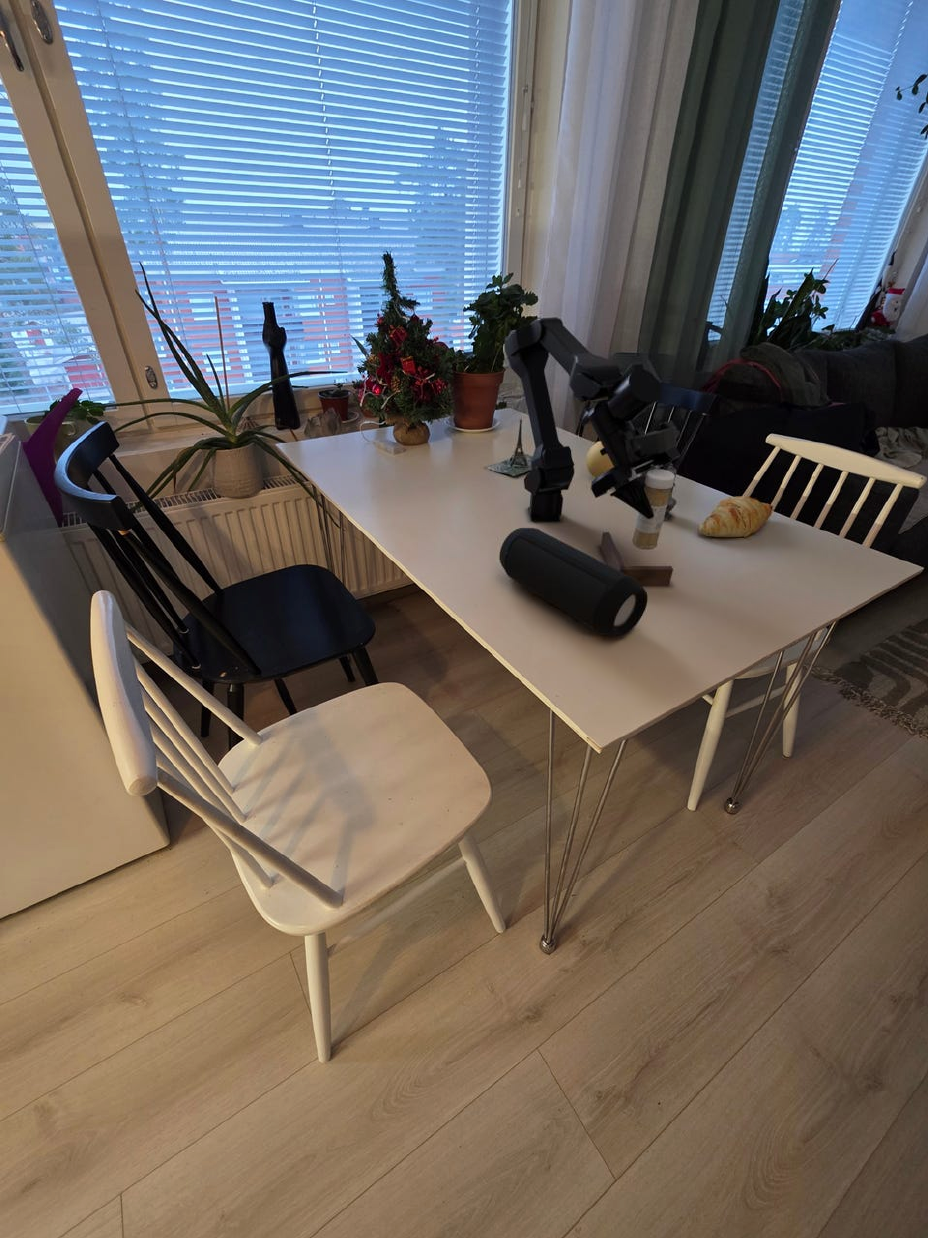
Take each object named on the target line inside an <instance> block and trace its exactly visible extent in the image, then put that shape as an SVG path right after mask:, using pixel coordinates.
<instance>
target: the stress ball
mask: <svg viewBox="0 0 928 1238" xmlns="http://www.w3.org/2000/svg"><path fill="white" fill-rule="evenodd" d="M603 448H604V447H603V445H602V443H601V441H600V440H599V441H596V442H595V443H593V444H592V446H591V447H590V448H589V450H588V452H587V454H586V459H585V464H586V468H587V470H588V472H589V474H590V475H591V476H592V477H594V478H595V479H596V478H598V477H599V476H601V475H602V474H603V473H605V472H606V471H608V470H609V469H611V468H613V467H614V466H613V464H612V462H611V460H610V458H609V457H608V455H607V454H606V455H603V456H602V455H601V453H600V450H601V449H603Z"/></svg>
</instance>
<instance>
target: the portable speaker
mask: <svg viewBox="0 0 928 1238" xmlns="http://www.w3.org/2000/svg"><path fill="white" fill-rule="evenodd" d="M498 555H499V556H498V557H499V563H500V565H501V567H502V568H503V570H504V571H505V573H506V575H507V576H508V578H510V579H512V580H513V581H514V582H517V584H520V585H521V586H523V587H525V588H526V589H528V590H529V591H530V592H532V593H533V594H536V595H537V596H539V597H541V599H543V600H545V601H547V602H548V603H550V604H552V605H553V606H555V607H556V608H558V609H560V610H561V611H563V612H565V613H566V614H568V615H569V616H571V617H573V618H574V619H576V620H578V621H579V622H580V623H581V624H584V625H585V626H587V627H589V628H590V629H592V630H593V631H595V632H597V633H599V634H600V635H604V636H608V637H609V636H611V637H615V638H620V637H623V636H626V635H627V634H629V633H630V632H631V631H632V630H633V629H634V628H635V627H636V626H637V625H638V624H639V622H640V620H641V618H642V617H643V615H644V614H645V611H646V608H647V605H648V599H649V597H648V592H647V591H646V590H645V588H644V586H641V585H640V584H639V582H638V581H637V580H636V579H635V578H633V577H630V576H628V575H626V574H624V573H622V572H620V571H618V570H616V569H615V568H613V567H611V566H609V565H608V564H607V563H606V562H603V561H601V560H599V559H597V558H596V557H593V556H591V555H589V554H588V553H585V552H583V551H582V550H580V549H578V548H575V547H573V546H571V545H570V544H568V543H566V542H564V541H562V540H559V539H557V538H556V537H554V536H552V535H550V534H548V533H546V532H544V531H542V530H540V529H539V528H536V527H519V528H516V529H514V530H512V531H511V532H510V533H509V534H508V535H507V536H506V538H505V539H504V540H503V542H502V544H501V547H500V549H499V554H498Z"/></svg>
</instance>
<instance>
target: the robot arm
mask: <svg viewBox="0 0 928 1238" xmlns="http://www.w3.org/2000/svg"><path fill="white" fill-rule="evenodd" d="M504 352H505V355H506V357H507V360H508V363H509V366H510V368H511V370H512V371H513V372H514V373H515V375H517V376H518V378H519V379H520V380H521V387H522V391H523V395H524V400H525V404H526V408H527V409H526V410H527V413H528V418H529V423H530V428H531V433H532V437H533V442H534V447H535V448H534V451H533V455H532V456H533V457H532V460H531V467H532V470H529V473H527V475H525V477H524V478H523V487H524V490H526V491H527V492H529V493H530V498H529V507H528V508H527V510H528V516H529V520H530V522H560V521H561V515H562V513H563V512H562V511H563V504H564V496H563V493H562V491H567V490H569V489H570V486H571V483H572V481H573V479H574V476H575V462H574V460H573V456H572V455H573V453H572V449H571V447H570V446H569V445H565V446H564V445H563V444H562V443H561V441H560V440H559V435H558V431H557V427H556V422H555V416H554V411H553V407H552V401H551V396H550V391H549V387H548V382H547V378H546V377H547V376H546V372H545V371H546V367H547V364H548V361H549V358H550V356H551V357H552V358H553V359H554V360H555V361H556V362H557V363H558V365H560V367H561V368H562V369H563V370H564V371H565V372H566V373H567V375H568V376H569V382H568V383H569V384H568V385H569V387H570V390H571V391H572V393H573V394H574V396H575V397H576V399H577V400H578V401H579V402H581V403H588V402H595V401H598V402H597V403H596V404H595V405H592V406H589V407H587V408H584V409H583V416H582V419H581V426H583V427H585V426H587V425H589V424H591V426H592V428H593V430H594V433H596V435H597V438H598V440H599V441H601V443H602V445H603V447H604V448H603V449H601V450H600V453H601V455H602V456H603V455H606V454H607V455H608V457H609V458H610V460H611V462H612V464H613V466H614V467H613V468H611V469H609V470H608V471H606V472H605V473H603V474H602V475H601V476H599V477H598V478H595V479H593V480H592V481H591V485H590V491H591V493H592V494H593V496H594V498H595V499H597V498H599V497H602V496H604V495H606V494H608V491H610V490H611V489H614V491H613V492H611V493H610V494H609V496H610V498H611V497H612V498H613V497H615V498H616V499H618V500H619V501H621V502H623V503H624V504H626V505H628V506H629V507H630V508H632V509H634V510H635V511H636V512H637V513H638V512H639V513H641V514H642V515H643V516H645V517H646V518H648V519H651V518H653V517H654V513H653V510H652V507H651V505H650V503H649V500H648V498H647V496H646V493H645V491H644V488H645V478H646V474H647V472H648V471H650V470H653V469H662V470H667V469H668V467H669V466H670V465H671V463H672V461H675V459H678V458H679V457H680V456H681V453H680V452H679V450H678V448H677V447H678V443H677V439H678V437H679V436H680V435H681V432H680V430H678V428H677V425H675V423H674V422H673V420H669V421H664V422H661V423H659V424H657V428H656V430H654V431H650V432H647V433H646V432H645V431H644V429H643V428H642V427H636V428H635V427H634V425H633V423H632V421H634V420H635V419H636V418H637V417H639V416H640V415H641V414H642V413H644V412H645V411H646V410H648V409H649V407H651V406H652V405H653V404H654V403H655V402H657V401H658V400H659V398H660V397H661V394H662V386H661V385H662V384H661V382H660V380H659V379H657V377H656V376H655V374H653V373H652V372H650V370H647V369H645V368H644V365H643V363H641V362H640V363H632V364H630V365H629V366H628V367H627V368H626V370H625V371H624V373H623V372H621V370H620V367H619V366H618V365H617V364H616V363H614V362H613V361H611V360H609V359H608V358H606V357H603V356H600V355H596V354H593V353H592V352H590V350H588V349H587V348H586V347H585V345H583V344H582V342H580V340H579V339H577V337H576V336H575V335H573V334H572V332H571V331H569V329H567V327H566V326H565V325H564V323H563V320H562V319H560V318H559V317H557V316H554V317H553V316H552V317H540V318H537V319H535V320H534V321H532V322H531V323H530V324H527V325H525V326H523V327H521V328H518V329H513V330H511V331H510V332H509V334H508V336H507V337H506V338H505V341H504ZM638 475H639V476H638ZM667 509H669V506H668V504H667V508H666V510H667Z"/></svg>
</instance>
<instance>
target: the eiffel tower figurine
mask: <svg viewBox="0 0 928 1238" xmlns="http://www.w3.org/2000/svg"><path fill="white" fill-rule="evenodd" d="M522 423H523V420H522V418H520V419H519V428H518V438H517V442H516V446H515V449H514V451H513V454H512V455H511V457H510V458H509V459H506V460H504V461H503V460H502V461H501V462H498V463H495V464H493V465H491V466H489V467H486V470H490V471H493V472H497V473H501V474H502V473H503V474H507V475H510V476H513V477H515V476H518V475H520V474H524V473H526V472H530V471H531V470H532V467H531V460H532V457H533V455H530V454H527V453H525V452H524V450H523V444H522V443H523V442H522ZM519 449H520V451H519Z"/></svg>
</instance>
